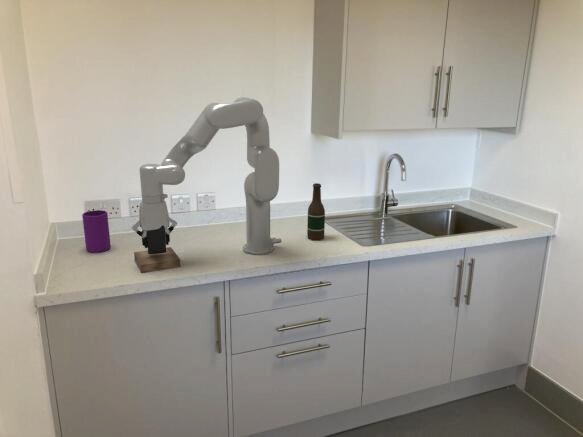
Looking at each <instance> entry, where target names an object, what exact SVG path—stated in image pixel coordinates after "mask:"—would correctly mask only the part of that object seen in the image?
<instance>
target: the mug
mask: <svg viewBox="0 0 583 437" xmlns="http://www.w3.org/2000/svg"><path fill="white" fill-rule="evenodd" d="M81 216H82V226H83V233H84V243H85V250H86V251H87V252H89V253H103V252H106V251H108V250H110V248H111V236H110V227H109V215H108V212H107V211H106V210H102V209H100V210H99V209H96V210H88V211H85V212H84V213H82V215H81Z"/></svg>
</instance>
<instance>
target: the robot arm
mask: <svg viewBox="0 0 583 437" xmlns="http://www.w3.org/2000/svg"><path fill="white" fill-rule="evenodd" d="M242 126H245V129H246V161H247V163H248V165H249V167H251V168H253V169H254V171H253V172H252V171H251V172H250V173H249V174H247V176H246V177H245V179H244V184H243V188H244V197H245V209H246V210H245V211H246V212H245V215H246V216H245V222H246V223H245V224H246V226H245V227H246V231H245V232H246V243H245V244H243V246H242V251H243V252H244V253H246V254H251V255H266V254H270V253H272V252H273V251H274V250H275V246H274V245H275V244H282V241H283V240H282V238H276V237H271V201H273V200H274V199H276V197H277V195H278V193H279V188H280V158H279V155H278V153H277V152H276V150H274V149H273V148H271V146H270V142H271V141H270V126H269V123H268V119H267V117H266V115H265V114H264V108H263V105H262V104H261V102H259V101H258V100H257V99H254V98H249V97H239V98H236V99H235V100H234V101H233V102H229V103H219V102H212V103H211V102H210V103H209V104H207V105H206V106H205V107H204V109H203V110H202V111H201V112H200V114H199V115H198V117H197V118H196V120H195V121H194V123H193V124H192V125H191V127H190V128H189V129H188V131H187V132H186V133H185V134H184V135H183V136H182V137H181V138H180V140H179V141H177V143H175V145H174V146H173V147H171V149H170V151H169V152H168V153H167V155H166V156H165V158H164V159H163V160H162V162H161V164H157V163H145V164H142V165H140V167H139V180H140V192H141V202H140V203H139V209H138V210H139V211H138V213H139V215H138V216H139V217H138V221H137V222H136V223H134V225H132V226H131V229H132V231H133V232H135V233H136V234H137V235H139V237H141V243H142V246H143V247H144V249H148V247H147V238H146V234H147V233H146V231H150V230H156V229H159V228H160V227H161V226H162V225H163V226H164V227H165V230H166V246H169V245H170V244H169V243H170V242H171V238H170V235H171V233H172V232H173V230H174V229H175V228H176V226H177V224H178V222H177V221H176V220H175V219H173V218H172V217H170V215H169V211H168V206H167V202H166V200H165V199H168V197H169V196H168V194H166V193H164V185H165V186H178V185H180V184H181V183H183V182H184V180H186V172H185V169H184V166H185V165H186V164H187V163H188V161H189V160H190V159H191V158H192V157H193V156H195V155H196V154H198V153H200V152H203V151H204V150H205V149H206V148H207V147H208V146H209V144H210V143H211V142H212V140H213V139H214V138H215V136H216V135H217V133H218V132H219V130H225V129H232V128H238V127H242ZM170 223H171V224H170ZM138 228H140V229H141V230H139V229H138Z"/></svg>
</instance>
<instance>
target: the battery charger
mask: <svg viewBox="0 0 583 437" xmlns="http://www.w3.org/2000/svg"><path fill="white" fill-rule="evenodd" d="M146 233H147V234H146V238H147V247H148V248H147V250H148V254H159V253H166V252H167V250H166V248H167V245H166V230H165V227H164V226H163V225H162V226H161V227H160V228H159V229H156V230H150V231H146Z"/></svg>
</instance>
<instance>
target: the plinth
mask: <svg viewBox="0 0 583 437" xmlns="http://www.w3.org/2000/svg"><path fill="white" fill-rule="evenodd" d="M166 250H167V252H166V253H159V254H148V249H147V250H141V251H134V252H133V255H134V262H135V264H136V266H137V268H138V269H139V271H140V273H141V274H143V273H148V272H149V273H150V272H155V271H162V270H168V269H174V268H180V267H181V259H180V257H179V256H178V254H177V253H176V252H175V251H174V249H173V248H172V247H171V246H169V247H168V246H167V247H166Z"/></svg>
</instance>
